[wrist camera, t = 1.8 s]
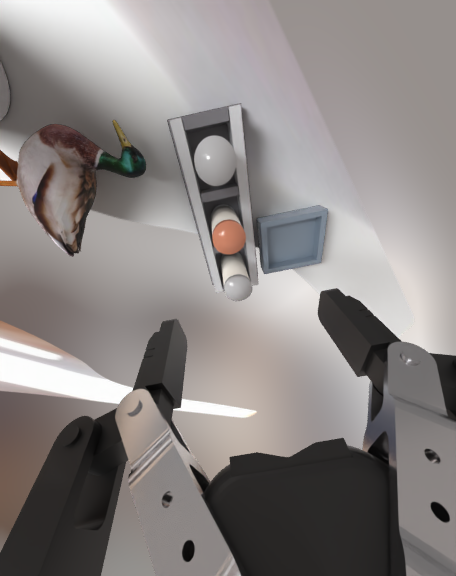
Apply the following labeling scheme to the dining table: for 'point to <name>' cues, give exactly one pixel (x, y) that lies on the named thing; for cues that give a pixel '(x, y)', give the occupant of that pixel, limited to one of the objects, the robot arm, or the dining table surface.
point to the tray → (292, 239)
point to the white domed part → (215, 160)
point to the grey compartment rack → (206, 196)
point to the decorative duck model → (65, 178)
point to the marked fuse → (227, 230)
